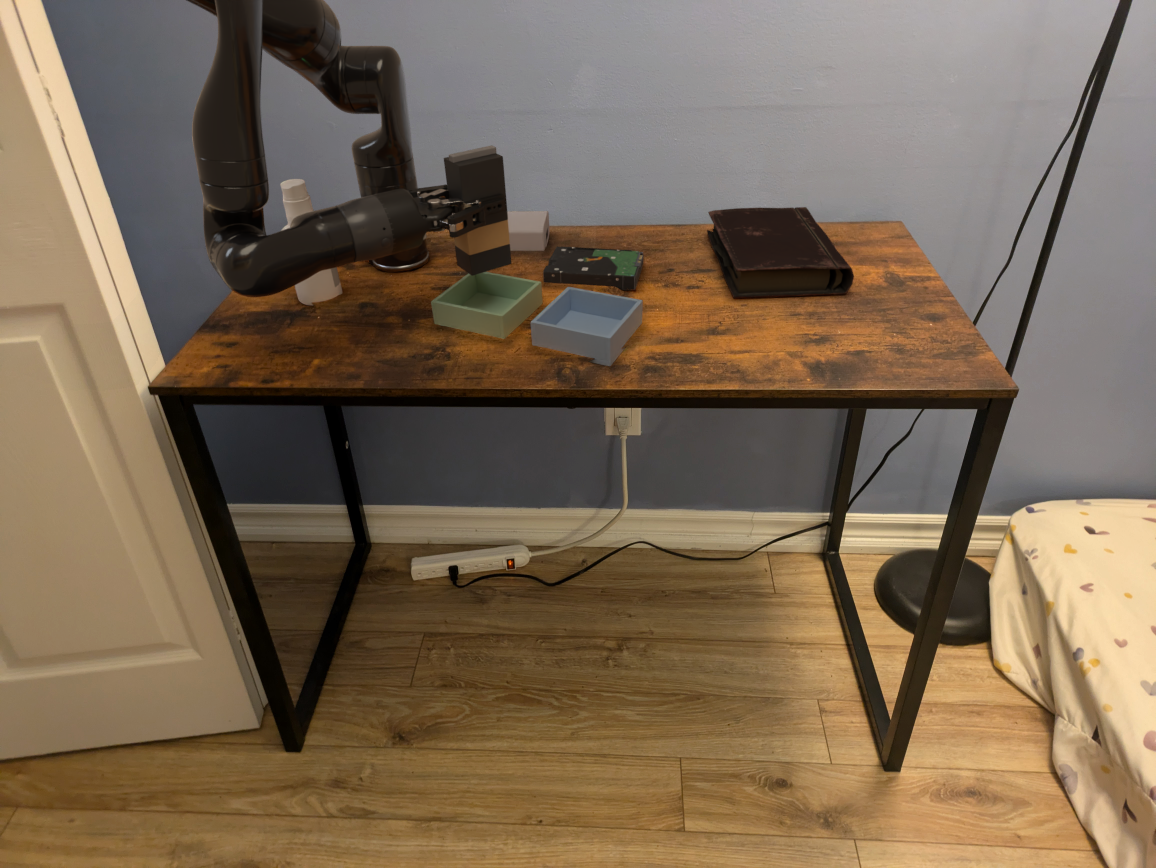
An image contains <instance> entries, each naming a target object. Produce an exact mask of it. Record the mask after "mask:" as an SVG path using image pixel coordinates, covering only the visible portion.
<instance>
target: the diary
mask: <svg viewBox="0 0 1156 868" xmlns="http://www.w3.org/2000/svg"><path fill="white" fill-rule="evenodd" d="M708 216H709V217H710V219H711V222H712V223H713V228H712V230H709V229H707V230H706V233H707V237H708V240H709V243H710V245H711V248H712V250H713V252H714V254H715V256H716V258H717V260H718V263H719V266H720V268H721V273H722V275H723V278H724V280H725V282H726V285H727V287H728V290H729V291H730V293H731V295H732V298H733V299H743V298H770V297H771V298H774V297H798V296H799V297H801V296H824V295H825V296H826V295H828V296H829V295H830V296H831V295H846V294H847V293H848V292H849V291H850V289H851V287H852V285H853V283H854V279H855V276H854V275H855V274H854V270H853V268H852V267H851V265H850V264H849V262H847V260H846V259H845V258H844V257H843V255H842V254H841V253H840V252H839V251H838V250H837V248H836V246H835V245H834V243H833V242H832V240H831V239H830V236H828V234H827V233H826V231H824V230H823V228H822V227H821V226H820V225H819V224H818V223H817V221H816V219H815V218H814V216H813V214H812V213H811V211H810V210H809V209H808V208H807V206H800V207H798V206H796V207H737V208H736V207H735V208H725V209H715V210H714V209H713V210H711V211H708Z"/></svg>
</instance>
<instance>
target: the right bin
mask: <svg viewBox="0 0 1156 868" xmlns="http://www.w3.org/2000/svg"><path fill="white" fill-rule="evenodd" d="M643 302H644V301H643V299H639V298H633V297H627V296H623V295H617V294H611V293H606V292H605V293H604V292H601V291H600V292H599V291H595V290H589V289H584V288H579V287H578V288H577V287H572V286H567V287H566V288H565V289H564V290H562V291H561V292H560V293H559V295H557V296H556V297H555V298H554V299H553V300H552V301H551V302H549V304H548V305H546V307H544V308H543V310H541V311H540V312H539V313H537V315H536V316H535V317H534V318H533V319H532V320H531V321H530V323H529V324H530V335H531V336H530V337H531V345H532V346H536V347H540V348H544V349H549V350H554V351H558V352H561V353H562V352H563V353H568V354H571V355H577V356H581V357H586V358H591V360H588V363H592V364H597V365H601V366H606V367H611V366H612V365H613V364H614V363H615V362H616V360H617V359H618V358H619V357H620V356H621V354H622V353H623V351H624V350H625V349H626V348H627V346H625V345H626V343H627V342H628V341H629V339H631V337H632V336H633V335H634V334H635V332H636V331H637V330H638V329H639V328H640V326H641V325H642V324H643V309H644V303H643Z"/></svg>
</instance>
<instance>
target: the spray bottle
mask: <svg viewBox="0 0 1156 868" xmlns="http://www.w3.org/2000/svg"><path fill="white" fill-rule="evenodd" d="M279 185H280V189H281V193H282V203H283V208H284V211H285V217H286V221H287V224H286V225H285V226H284V227H282V228H281V230H280V231H282V230H285V229H288V228H290V224H291V222H292V220H293V219H294V218H295V217H297V216H299V215H301V214H304V213H307V212H311V211H315V209H314V208H313V204H312V203H313V202H312V199H311V196H310V194H309V192H308V190H307V185H306V180H304V179H302V178H290V179H286V180H284V181H281V182H280V184H279ZM294 289H295V292H296V293H295V294H296V296H297V300H298V301H299V302H300V303H301V304H303V305H306V306H313V307H314V306H315V305H314V303H322V302H326V301H329V300H332V299H334V298H336V297H338V296H339V295H343V288H342V283H341V278H340V275H339V270H338V267H336V268H332V269H328V270H323V271H320V272H318V273H316V274H315V275H313V276H311V277H310V278H308V279H306V280H304V281H302V282H300V283H298V284H296V285H294Z"/></svg>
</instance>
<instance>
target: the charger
mask: <svg viewBox="0 0 1156 868" xmlns="http://www.w3.org/2000/svg"><path fill="white" fill-rule="evenodd" d="M507 213H508V227H509V240H510V251H511V252H545V249H546V248H547V247H548V243H549V239H550V216H549V215H550V214H549V213H550V212H549V211H548V210H514V211H513V210H510V211H509V210H507Z"/></svg>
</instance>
